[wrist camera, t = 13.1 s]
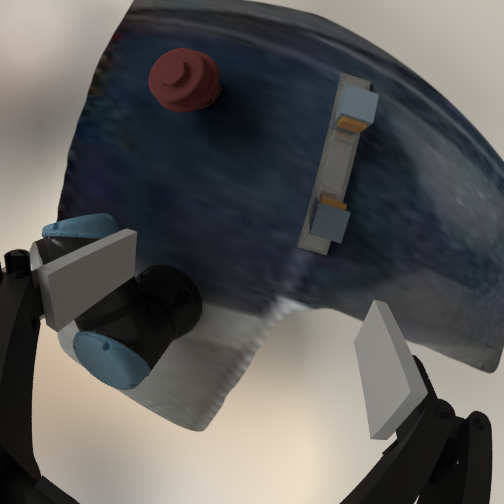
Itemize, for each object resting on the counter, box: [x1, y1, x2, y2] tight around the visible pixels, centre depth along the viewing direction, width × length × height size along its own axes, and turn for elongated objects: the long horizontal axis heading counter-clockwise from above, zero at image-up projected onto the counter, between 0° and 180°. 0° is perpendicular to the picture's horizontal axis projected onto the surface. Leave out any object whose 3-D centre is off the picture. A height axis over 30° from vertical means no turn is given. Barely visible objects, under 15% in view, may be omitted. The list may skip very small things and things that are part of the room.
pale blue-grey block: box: [333, 84, 379, 133], centre depth 31 cm, size 5×4×9 cm
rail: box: [297, 73, 371, 255], centre depth 34 cm, size 30×5×12 cm, turn 167°
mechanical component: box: [149, 48, 222, 113], centre depth 34 cm, size 12×10×10 cm
